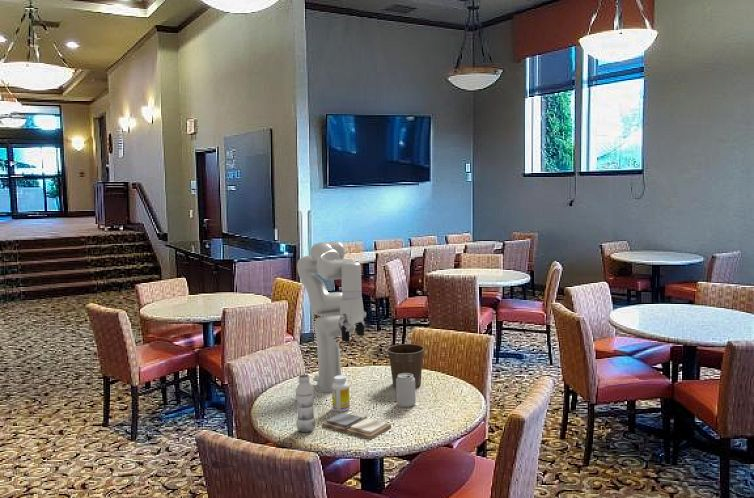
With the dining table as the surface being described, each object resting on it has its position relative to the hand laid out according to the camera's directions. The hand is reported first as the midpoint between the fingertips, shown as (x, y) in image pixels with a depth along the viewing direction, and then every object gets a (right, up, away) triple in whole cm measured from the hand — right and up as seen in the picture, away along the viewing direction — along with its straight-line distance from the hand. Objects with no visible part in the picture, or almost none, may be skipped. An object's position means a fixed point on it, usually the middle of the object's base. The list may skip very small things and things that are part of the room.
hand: (353, 338), depth 238 cm
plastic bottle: (-16, -31, -17) cm, 39 cm away
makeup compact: (+2, -30, -16) cm, 34 cm away
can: (+21, -27, +5) cm, 34 cm away
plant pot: (+22, -25, +29) cm, 44 cm away
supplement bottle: (-5, -28, +3) cm, 29 cm away
